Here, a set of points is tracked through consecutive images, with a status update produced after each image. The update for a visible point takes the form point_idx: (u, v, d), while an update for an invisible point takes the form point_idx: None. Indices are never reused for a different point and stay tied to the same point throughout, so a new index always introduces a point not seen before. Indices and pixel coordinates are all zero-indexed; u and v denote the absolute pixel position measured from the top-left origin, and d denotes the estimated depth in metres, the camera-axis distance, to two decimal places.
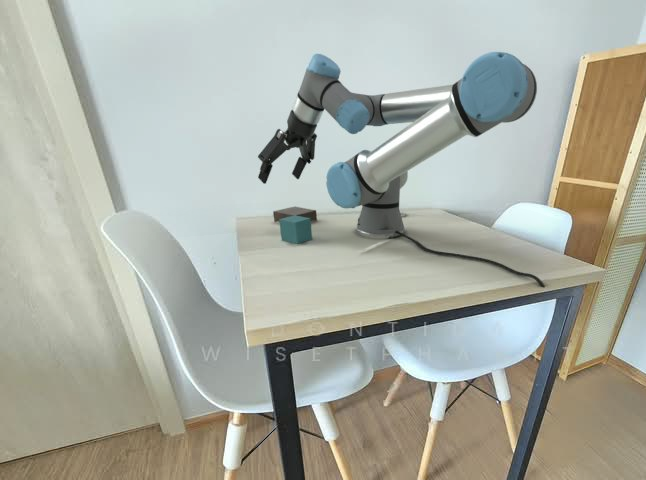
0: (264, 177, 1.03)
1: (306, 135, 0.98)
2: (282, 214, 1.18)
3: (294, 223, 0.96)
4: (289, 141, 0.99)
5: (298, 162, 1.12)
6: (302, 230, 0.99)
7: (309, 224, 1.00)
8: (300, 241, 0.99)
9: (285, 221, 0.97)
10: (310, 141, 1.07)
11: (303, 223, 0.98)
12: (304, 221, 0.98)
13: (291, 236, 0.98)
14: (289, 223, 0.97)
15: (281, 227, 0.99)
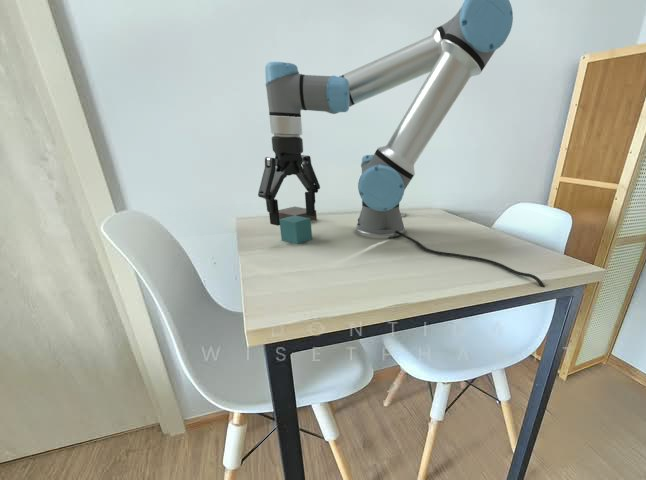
0: (275, 218, 0.92)
1: (295, 150, 0.89)
2: (282, 214, 1.18)
3: (294, 223, 0.96)
4: (282, 166, 0.90)
5: (306, 198, 1.02)
6: (302, 230, 0.99)
7: (309, 224, 1.00)
8: (300, 241, 0.99)
9: (285, 221, 0.97)
10: (306, 166, 0.98)
11: (303, 223, 0.98)
12: (304, 221, 0.98)
13: (291, 236, 0.98)
14: (289, 223, 0.97)
15: (281, 227, 0.99)
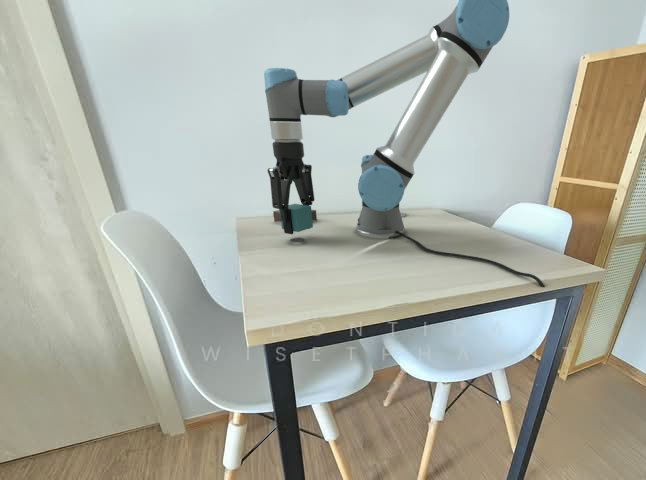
0: (289, 227, 0.96)
1: (296, 155, 0.89)
2: None
3: (294, 210, 0.94)
4: (284, 172, 0.90)
5: None
6: (303, 217, 0.97)
7: (309, 212, 0.99)
8: (301, 229, 0.97)
9: None
10: (306, 175, 0.98)
11: (303, 211, 0.96)
12: (304, 209, 0.97)
13: (292, 224, 0.96)
14: None
15: None
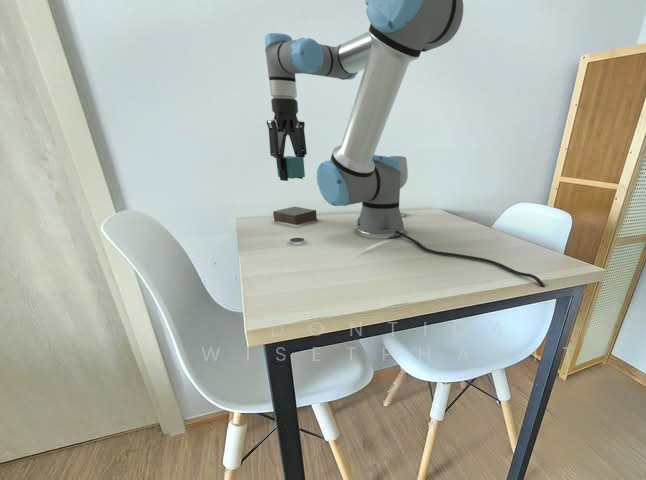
0: (284, 174, 1.12)
1: (291, 110, 1.05)
2: (282, 214, 1.18)
3: (289, 159, 1.10)
4: (280, 124, 1.06)
5: None
6: (296, 166, 1.13)
7: (302, 162, 1.15)
8: (294, 176, 1.13)
9: None
10: (299, 130, 1.14)
11: (296, 160, 1.12)
12: (297, 159, 1.13)
13: None
14: None
15: None
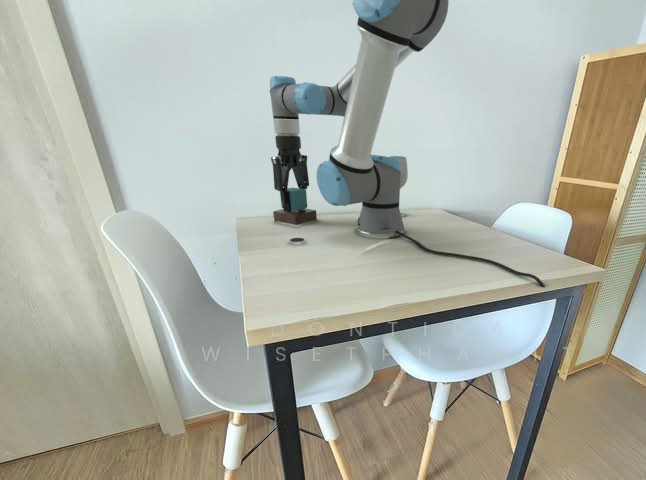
0: (287, 206, 1.17)
1: (294, 146, 1.10)
2: (282, 214, 1.18)
3: (292, 192, 1.15)
4: (284, 160, 1.11)
5: None
6: (299, 198, 1.17)
7: (305, 194, 1.19)
8: (297, 208, 1.18)
9: None
10: (302, 163, 1.18)
11: (299, 193, 1.17)
12: (300, 191, 1.17)
13: None
14: None
15: None
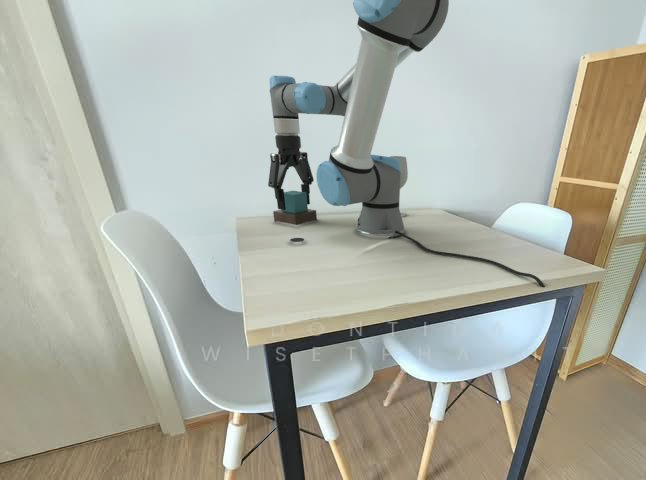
0: (282, 204, 1.14)
1: (294, 146, 1.10)
2: (282, 214, 1.18)
3: (292, 195, 1.15)
4: (284, 159, 1.11)
5: (302, 189, 1.23)
6: (300, 201, 1.18)
7: (305, 197, 1.20)
8: (297, 211, 1.18)
9: (285, 194, 1.16)
10: (303, 161, 1.18)
11: (300, 196, 1.17)
12: (301, 194, 1.18)
13: (290, 207, 1.17)
14: (288, 196, 1.16)
15: None
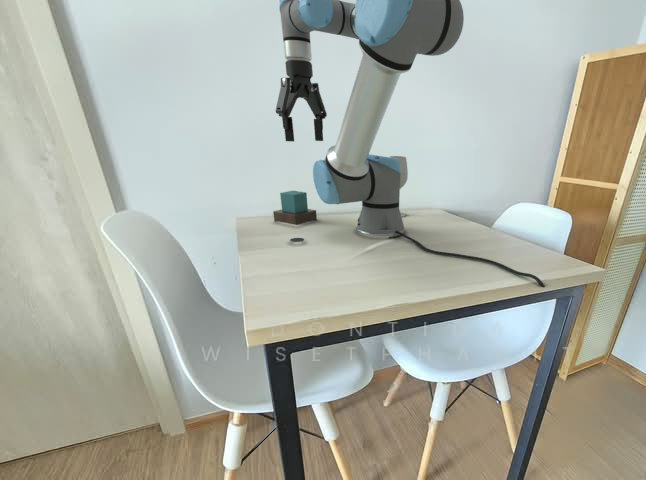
0: (290, 134, 1.06)
1: (306, 72, 1.02)
2: (282, 214, 1.18)
3: (292, 195, 1.15)
4: (295, 87, 1.03)
5: (315, 124, 1.16)
6: (300, 201, 1.18)
7: (305, 197, 1.20)
8: (297, 211, 1.18)
9: (285, 194, 1.16)
10: (315, 93, 1.11)
11: (300, 196, 1.17)
12: (301, 194, 1.18)
13: (290, 207, 1.17)
14: (288, 196, 1.16)
15: (282, 199, 1.18)
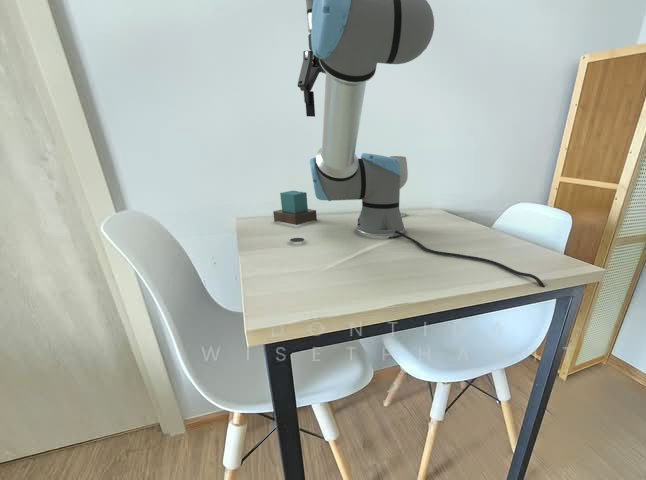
0: (311, 109, 1.05)
1: None
2: (282, 214, 1.18)
3: (292, 195, 1.15)
4: (318, 61, 1.03)
5: None
6: (300, 201, 1.18)
7: (305, 197, 1.20)
8: (297, 211, 1.18)
9: (285, 194, 1.16)
10: None
11: (300, 196, 1.17)
12: (301, 194, 1.18)
13: (290, 207, 1.17)
14: (288, 196, 1.16)
15: (282, 199, 1.18)
